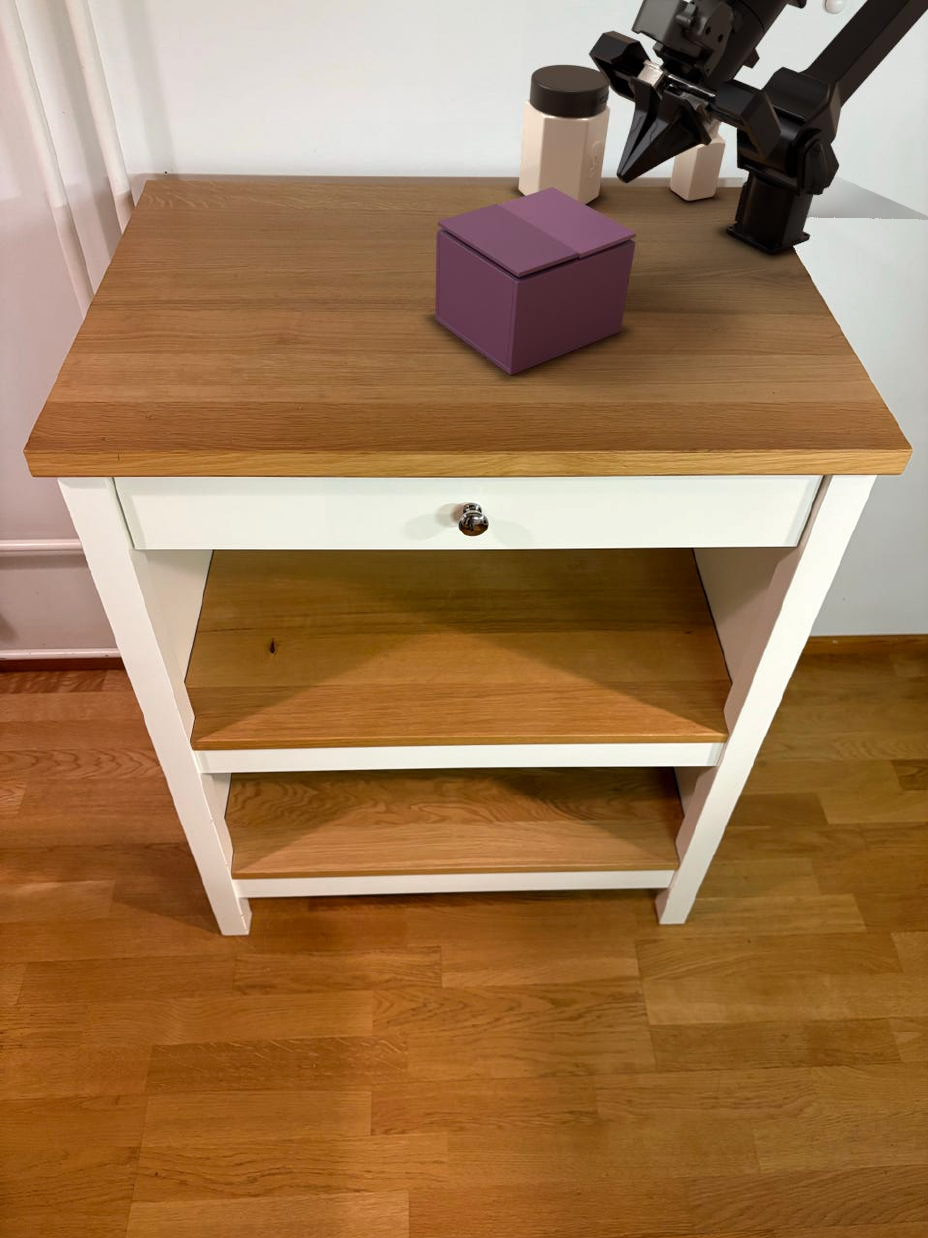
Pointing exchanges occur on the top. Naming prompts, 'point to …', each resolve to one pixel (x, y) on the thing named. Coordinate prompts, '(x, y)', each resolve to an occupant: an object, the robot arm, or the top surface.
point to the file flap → (569, 221)
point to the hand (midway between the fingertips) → (621, 179)
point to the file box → (525, 288)
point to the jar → (565, 132)
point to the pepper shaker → (698, 169)
